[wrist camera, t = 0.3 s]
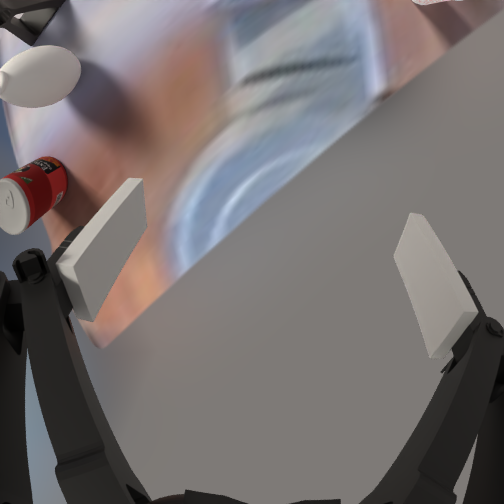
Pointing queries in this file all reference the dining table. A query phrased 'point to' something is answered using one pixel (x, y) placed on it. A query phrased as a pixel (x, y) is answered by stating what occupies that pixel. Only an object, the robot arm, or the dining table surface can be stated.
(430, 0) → the beverage cup
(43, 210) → the canned food
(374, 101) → the dining table surface
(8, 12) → the phone stand
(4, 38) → the dining table surface
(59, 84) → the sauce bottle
